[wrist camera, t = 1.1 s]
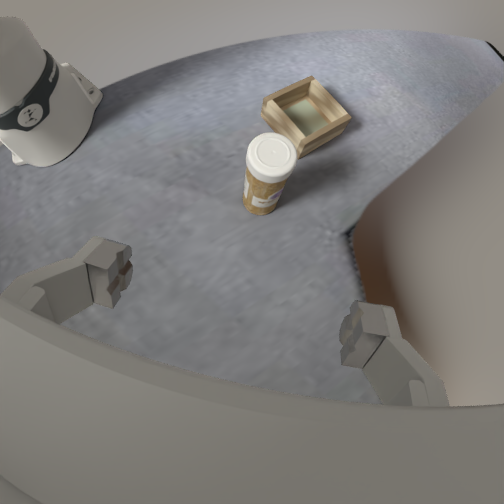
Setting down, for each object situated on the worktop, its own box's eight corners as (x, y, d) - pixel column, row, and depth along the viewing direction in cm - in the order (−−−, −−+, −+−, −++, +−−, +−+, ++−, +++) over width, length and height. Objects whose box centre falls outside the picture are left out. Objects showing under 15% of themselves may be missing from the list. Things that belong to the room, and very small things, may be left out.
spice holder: (260, 115, 41) (263, 97, 37) (305, 93, 42) (311, 75, 38) (297, 159, 41) (305, 144, 36) (341, 133, 42) (351, 117, 37)
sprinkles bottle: (263, 222, 39) (279, 185, 26) (235, 201, 39) (236, 156, 26) (284, 195, 40) (308, 149, 26) (256, 175, 40) (266, 122, 27)
